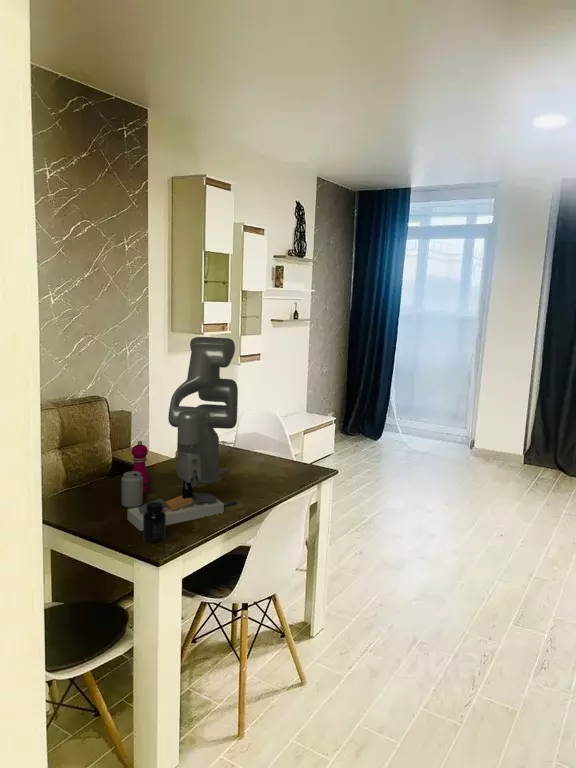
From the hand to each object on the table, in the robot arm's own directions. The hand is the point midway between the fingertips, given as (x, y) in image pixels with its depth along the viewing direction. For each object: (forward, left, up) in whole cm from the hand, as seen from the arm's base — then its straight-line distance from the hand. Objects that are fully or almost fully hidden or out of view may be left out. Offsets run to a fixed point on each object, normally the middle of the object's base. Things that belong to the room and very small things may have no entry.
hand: (187, 498), depth 207 cm
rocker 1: (+13, 0, -1) cm, 13 cm away
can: (+12, -20, -7) cm, 24 cm away
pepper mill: (+4, -33, -7) cm, 34 cm away
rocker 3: (-6, 0, -1) cm, 6 cm away
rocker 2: (+3, 0, -1) cm, 3 cm away
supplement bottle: (+17, +12, -7) cm, 22 cm away
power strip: (+3, -2, -7) cm, 8 cm away
